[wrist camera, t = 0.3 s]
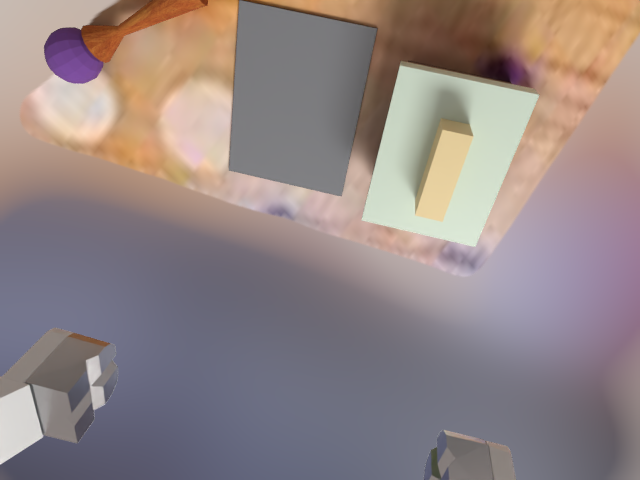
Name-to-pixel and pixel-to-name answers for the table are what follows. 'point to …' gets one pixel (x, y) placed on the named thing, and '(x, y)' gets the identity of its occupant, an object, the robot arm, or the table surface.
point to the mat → (297, 95)
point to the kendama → (104, 40)
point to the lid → (445, 152)
